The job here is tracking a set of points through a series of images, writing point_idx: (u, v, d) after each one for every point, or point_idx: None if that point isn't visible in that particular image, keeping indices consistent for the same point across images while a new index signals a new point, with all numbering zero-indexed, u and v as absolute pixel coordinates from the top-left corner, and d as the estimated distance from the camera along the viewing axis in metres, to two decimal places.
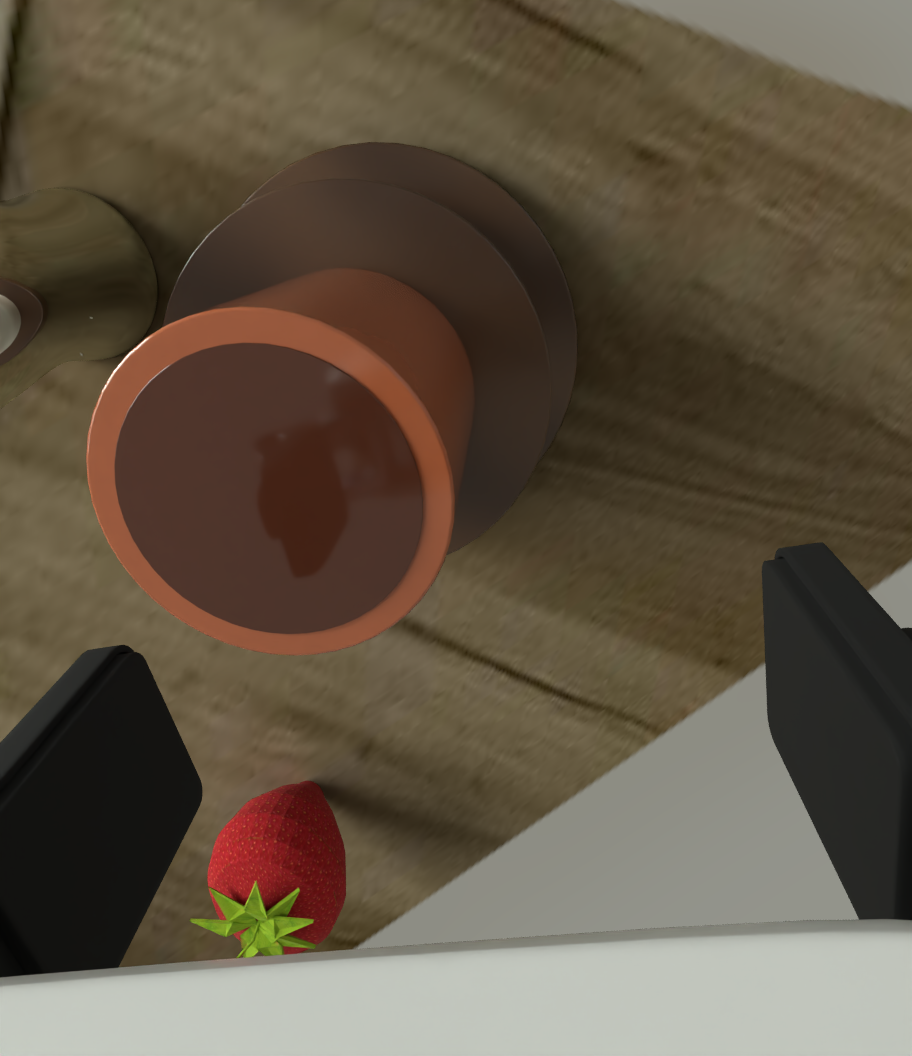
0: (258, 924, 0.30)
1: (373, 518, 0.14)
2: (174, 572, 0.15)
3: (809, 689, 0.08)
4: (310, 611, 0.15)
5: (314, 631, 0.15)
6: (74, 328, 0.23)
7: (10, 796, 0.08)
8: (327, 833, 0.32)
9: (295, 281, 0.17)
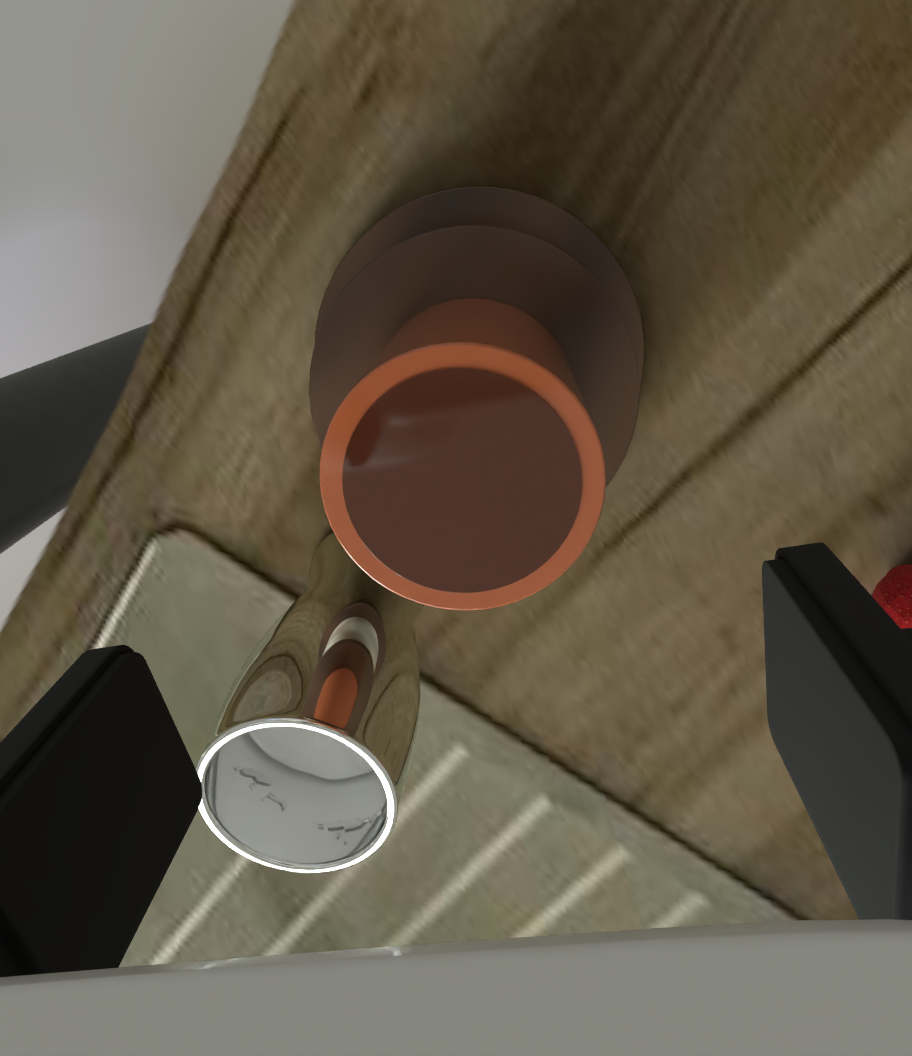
0: None
1: (492, 414, 0.17)
2: (503, 576, 0.19)
3: (809, 689, 0.08)
4: (563, 489, 0.18)
5: (581, 491, 0.18)
6: (385, 588, 0.31)
7: (10, 796, 0.08)
8: None
9: None
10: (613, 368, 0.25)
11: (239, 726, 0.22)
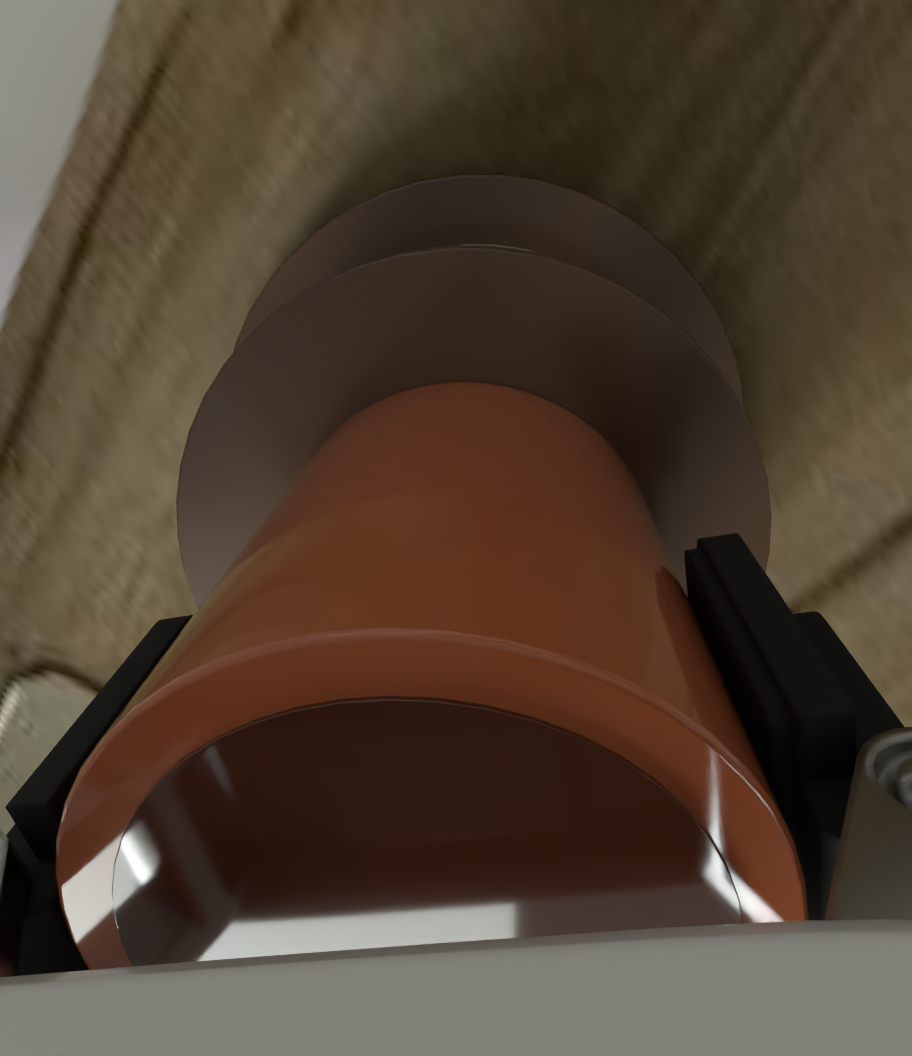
0: None
1: (504, 807, 0.06)
2: None
3: None
4: None
5: None
6: None
7: None
8: None
9: None
10: (724, 507, 0.13)
11: None
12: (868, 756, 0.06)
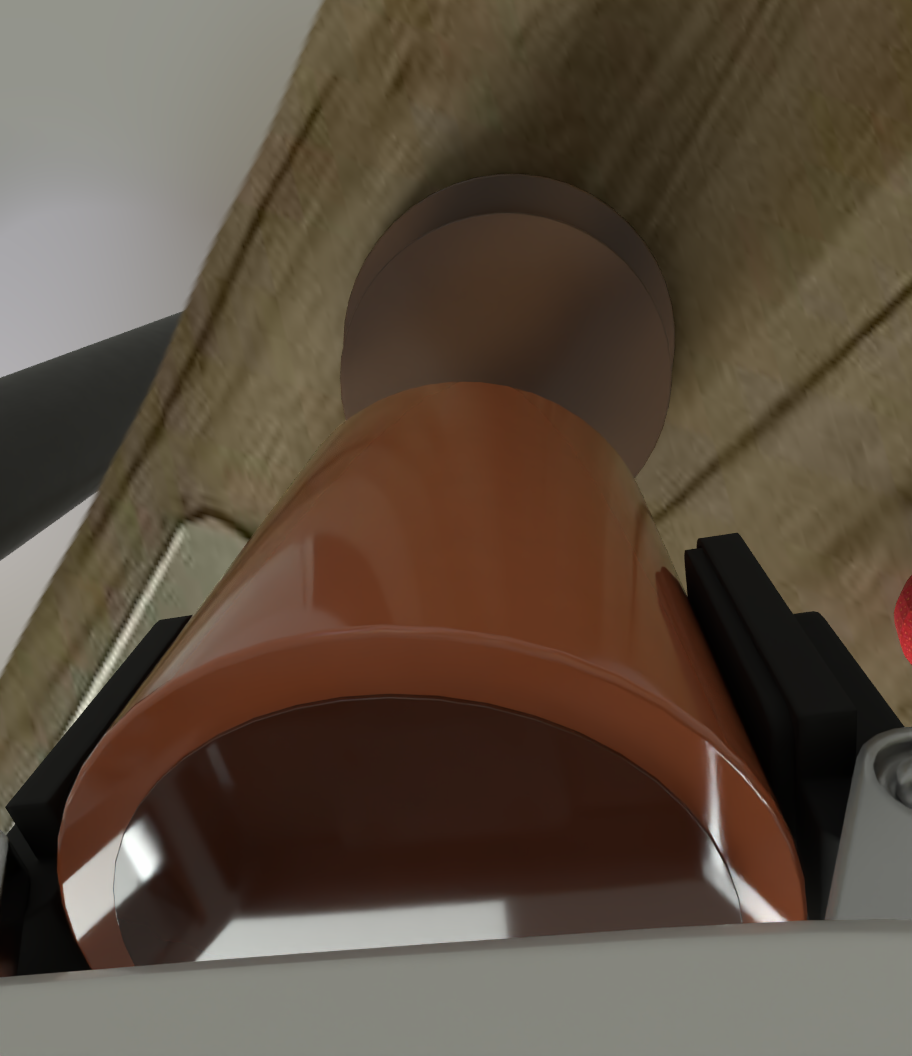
0: None
1: (504, 805, 0.06)
2: None
3: None
4: None
5: None
6: None
7: None
8: None
9: None
10: (645, 357, 0.24)
11: None
12: (867, 756, 0.06)
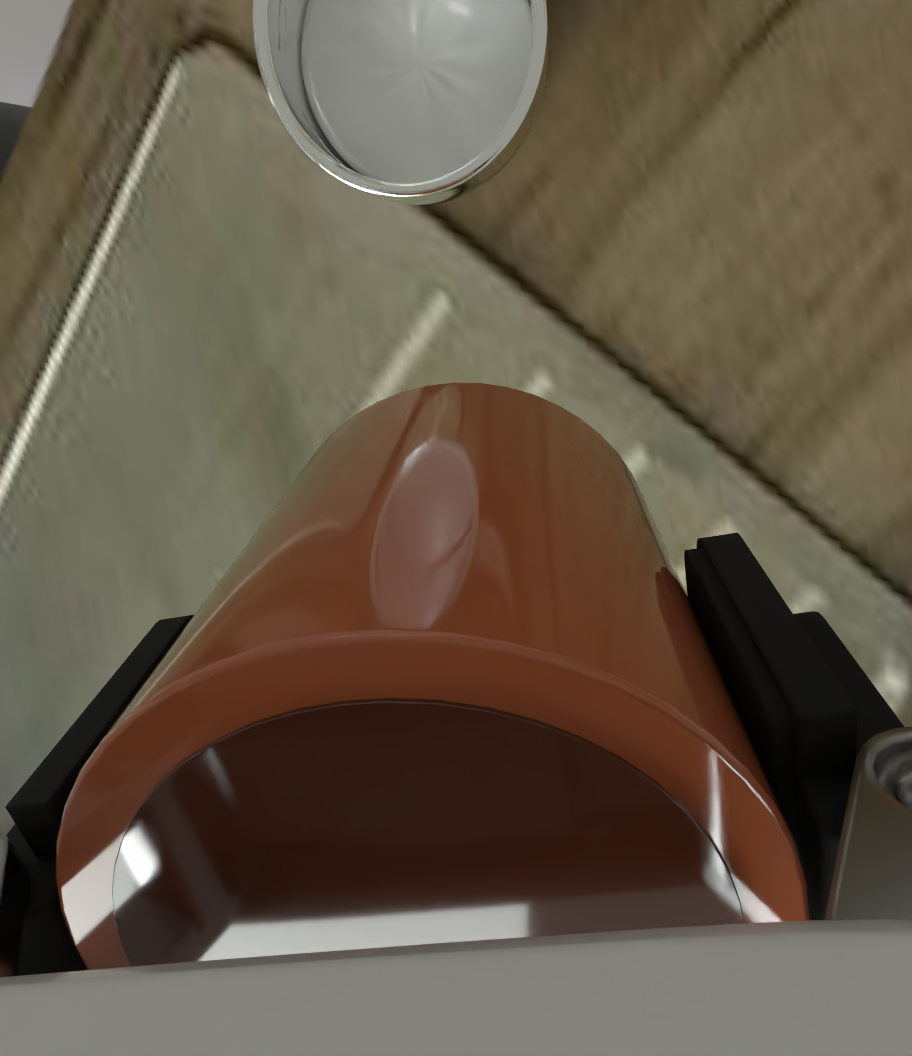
0: None
1: (504, 810, 0.06)
2: None
3: None
4: None
5: None
6: None
7: None
8: None
9: None
10: None
11: None
12: (867, 756, 0.06)
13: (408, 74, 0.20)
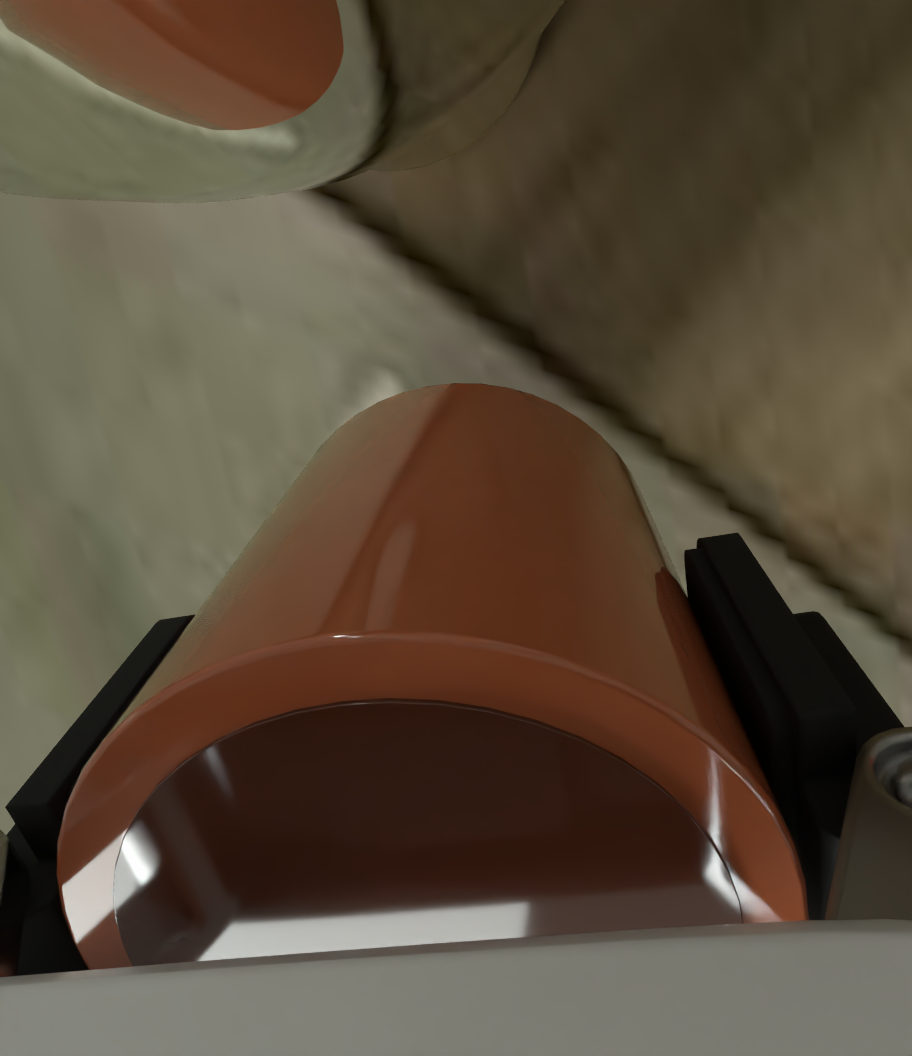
0: None
1: (505, 809, 0.06)
2: None
3: None
4: None
5: None
6: None
7: None
8: None
9: None
10: None
11: None
12: (867, 756, 0.06)
13: None
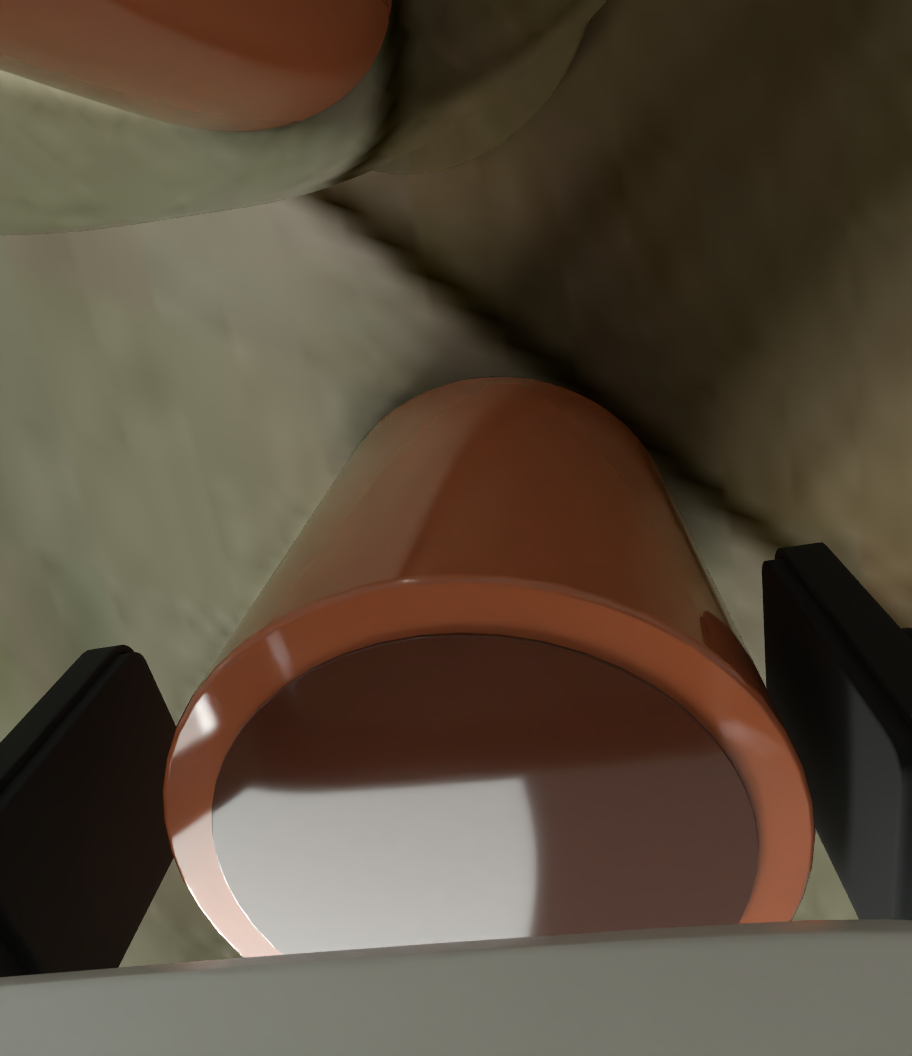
0: None
1: (554, 732, 0.07)
2: None
3: (809, 689, 0.08)
4: (710, 872, 0.08)
5: (752, 884, 0.08)
6: None
7: (10, 796, 0.08)
8: None
9: None
10: None
11: None
12: None
13: None
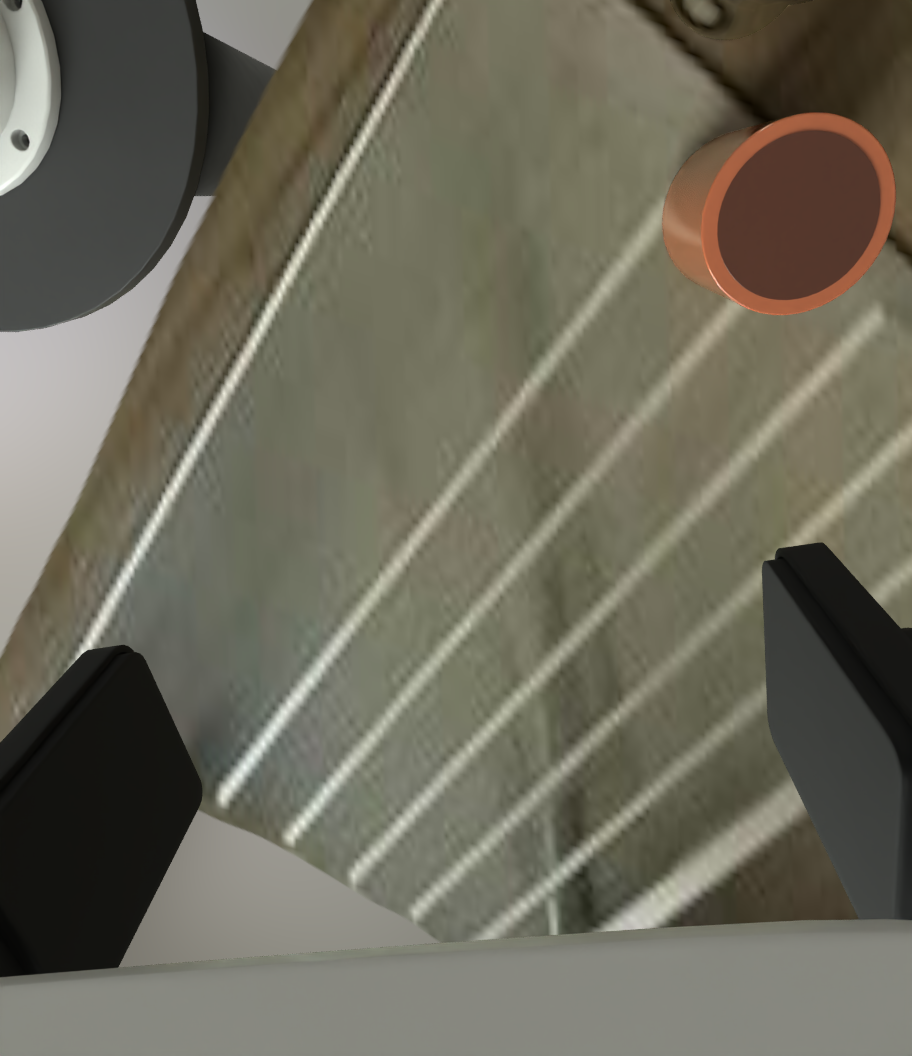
0: None
1: (828, 163, 0.27)
2: (813, 287, 0.29)
3: (809, 689, 0.08)
4: (865, 219, 0.28)
5: (877, 220, 0.28)
6: None
7: (9, 796, 0.08)
8: None
9: (679, 205, 0.32)
10: None
11: None
12: None
13: None
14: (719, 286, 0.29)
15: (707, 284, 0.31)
